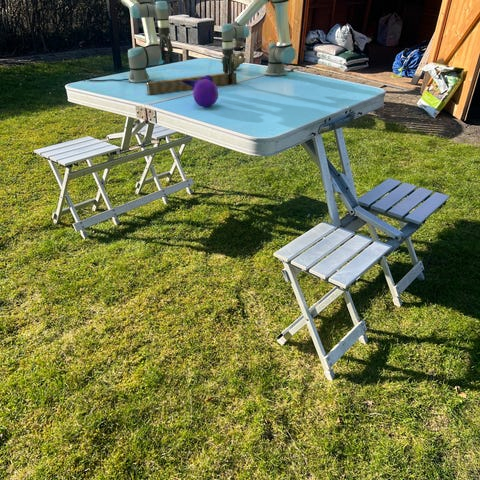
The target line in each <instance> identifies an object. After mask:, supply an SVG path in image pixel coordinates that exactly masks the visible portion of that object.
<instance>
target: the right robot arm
mask: <svg viewBox="0 0 480 480" xmlns="http://www.w3.org/2000/svg"><path fill="white" fill-rule="evenodd" d="M269 2H271V3H272V5H273V6H274V9H275V10H274V13H275V22H276V32H277V42H273V43H269V44H268V63H267V68H266V70H265V75H266V76H268V77H284V76H286V72H287V73H289V72H291V73H292V72H294V71H295V70H296V69H297V70H300V68H299V67H293V68H290V70H289V69H288V70H286V69H285V64H291V63H293V61H294V60H295V59H296V55H297V52H296V49H295V47H293V42H292V41H291V36H290V27H289V26H290V24H289V23H290V22H289V12H288V11H289V10H288V3H289V2H290V0H252V1H251V2H250V3H249V4H248V5H247V6H246V7H245V9H244V10H243V11H242V12H241V13H240V14H239V16H237V17H236V18H235V20H233V21H232V23H222V25H221V48H222V49H221V50H222V55H223V56H222V57H221V61H222V60H223V64H222V73H228V72H229V74H228V80H229V84H230V85H233V84H232V74H234V72H235V70H234V59H232V56H231V55H232V54H233V53H234V39H246V38H247V39H248V37H249V35H250V29H249V26H247V24H248V23H249V22H250V21H251V20H252V19H253V17H254V16H256V14H257V13H259V11H260V10H261V9H262V8H264V5H267V4H269Z"/></svg>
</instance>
